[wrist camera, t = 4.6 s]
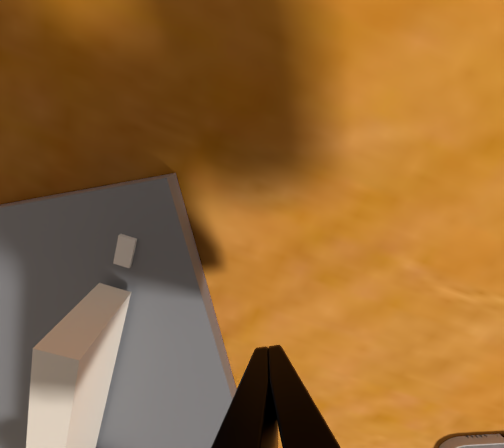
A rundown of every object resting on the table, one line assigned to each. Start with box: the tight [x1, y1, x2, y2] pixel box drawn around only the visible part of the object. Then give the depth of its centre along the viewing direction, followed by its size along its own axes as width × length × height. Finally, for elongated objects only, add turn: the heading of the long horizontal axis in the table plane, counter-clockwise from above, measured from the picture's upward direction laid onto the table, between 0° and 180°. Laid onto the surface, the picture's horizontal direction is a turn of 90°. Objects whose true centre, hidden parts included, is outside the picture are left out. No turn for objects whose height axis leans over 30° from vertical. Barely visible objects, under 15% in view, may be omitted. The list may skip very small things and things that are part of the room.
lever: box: [26, 283, 131, 448], centre depth 10 cm, size 14×3×3 cm, turn 160°
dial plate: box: [0, 173, 237, 448], centre depth 12 cm, size 17×19×1 cm
